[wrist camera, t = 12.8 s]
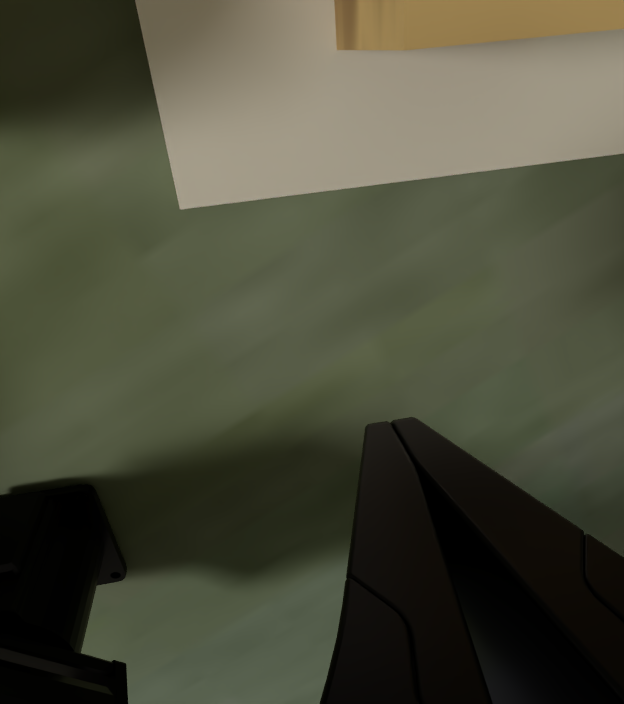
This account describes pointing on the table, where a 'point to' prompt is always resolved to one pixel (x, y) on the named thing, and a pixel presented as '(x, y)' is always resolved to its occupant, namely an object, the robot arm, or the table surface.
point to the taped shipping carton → (466, 21)
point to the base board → (363, 101)
